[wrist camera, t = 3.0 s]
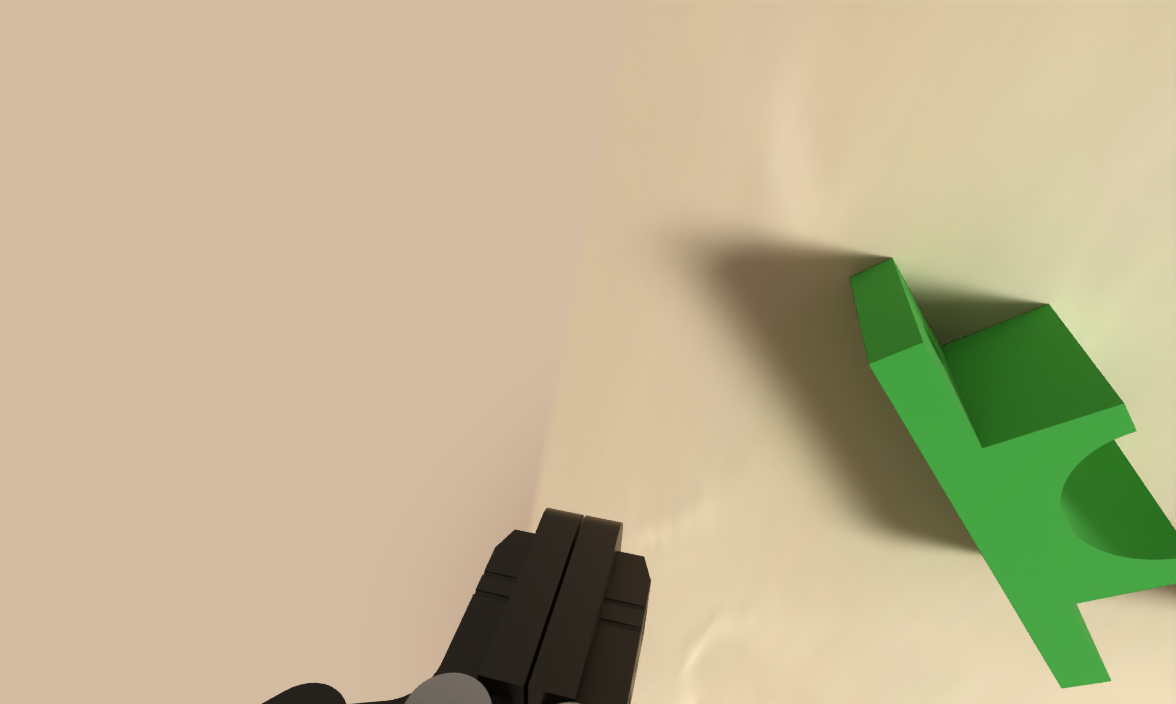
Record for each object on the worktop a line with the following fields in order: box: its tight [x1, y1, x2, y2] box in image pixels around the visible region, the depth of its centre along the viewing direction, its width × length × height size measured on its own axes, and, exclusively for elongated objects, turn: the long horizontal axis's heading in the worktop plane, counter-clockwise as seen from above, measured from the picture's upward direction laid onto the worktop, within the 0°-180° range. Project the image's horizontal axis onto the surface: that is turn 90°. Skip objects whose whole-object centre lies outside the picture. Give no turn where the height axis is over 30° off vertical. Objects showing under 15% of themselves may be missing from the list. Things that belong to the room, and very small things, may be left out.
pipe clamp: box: [850, 258, 1176, 688], centre depth 16 cm, size 11×4×5 cm, turn 36°
